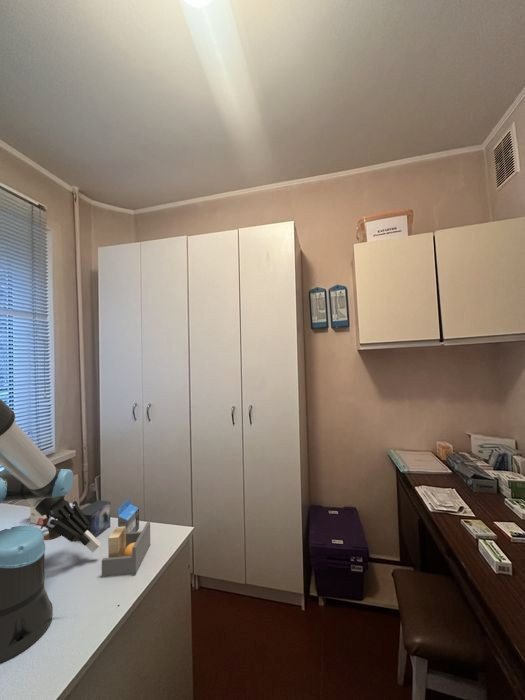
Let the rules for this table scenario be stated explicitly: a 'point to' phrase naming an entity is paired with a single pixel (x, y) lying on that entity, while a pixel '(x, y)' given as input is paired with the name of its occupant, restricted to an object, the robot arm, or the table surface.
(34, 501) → the robot arm
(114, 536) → the wooden block
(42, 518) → the ink cartridge box
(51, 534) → the pottery mug
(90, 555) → the table surface
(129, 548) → the ball
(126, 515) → the label tape cartridge
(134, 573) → the pitch
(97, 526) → the small box
